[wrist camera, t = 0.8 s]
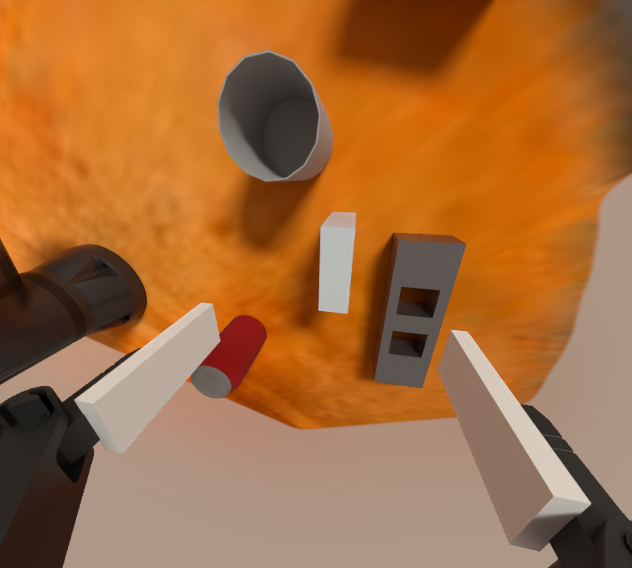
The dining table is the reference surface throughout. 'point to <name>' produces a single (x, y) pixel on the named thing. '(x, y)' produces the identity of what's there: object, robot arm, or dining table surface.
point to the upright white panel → (336, 261)
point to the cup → (273, 119)
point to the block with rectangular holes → (414, 305)
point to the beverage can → (230, 357)
